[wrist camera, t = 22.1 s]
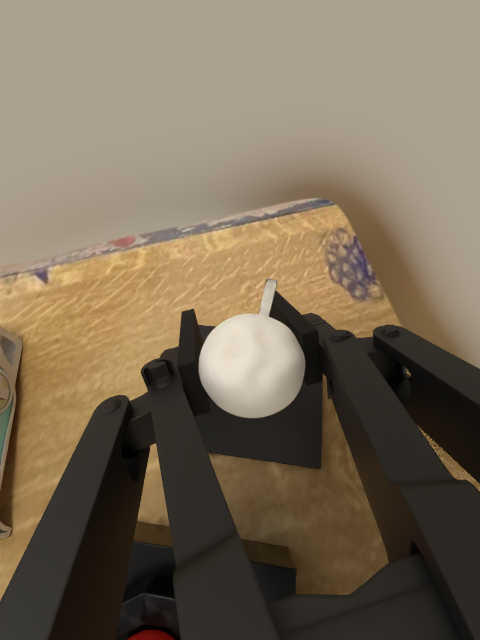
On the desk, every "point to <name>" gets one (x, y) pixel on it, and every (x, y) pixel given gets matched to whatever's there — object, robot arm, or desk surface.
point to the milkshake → (252, 362)
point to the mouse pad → (268, 429)
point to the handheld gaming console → (7, 397)
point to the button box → (157, 580)
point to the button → (151, 635)
